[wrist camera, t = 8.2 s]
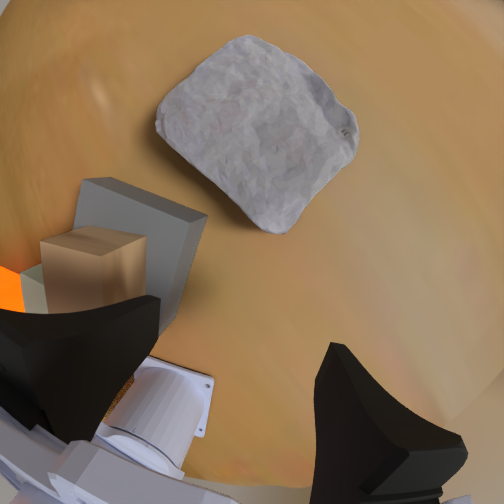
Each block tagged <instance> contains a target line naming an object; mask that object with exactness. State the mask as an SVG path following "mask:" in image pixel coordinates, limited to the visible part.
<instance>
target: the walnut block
mask: <svg viewBox="0 0 504 504" xmlns="http://www.w3.org/2000/svg"><path fill="white" fill-rule="evenodd" d="M146 244H147V236H146V235H140V234H135V233H129V232H124V231H118V230H112V229H107V228H101V227H96V226H90V225H88V226H85V227H82V228H78V229H75V230H72V231H69V232H66V233H63V234H59V235H56V236H53V237H50V238H47V239H44V240H41V241H40V250H41V262H42V272H43V281H44V289H45V296H46V302H47V308H48V314H55V313H71V312H79V311H85V310H91V309H95V308H99V307H103V306H107V305H111V304H115V303H118V302H122V301H125V300H129V299H132V298H136V297H139V296H143V295H146Z"/></svg>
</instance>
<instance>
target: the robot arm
mask: <svg viewBox="0 0 504 504" xmlns="http://www.w3.org/2000/svg"><path fill="white" fill-rule="evenodd" d="M160 306H161V298H158V297H155V296H152V295H143V296H139V297H136V298H132V299H129V300H125V301H122V302H118V303H115V304H111V305H107V306H103V307H99V308H95V309H91V310H85V311H79V312H71V313H55V314H38V313H25V312H18V311H12V310H6V309H1V308H0V474H1V475H2V476H3V477H4V478H5V479H6V480H7V481H8V482H9V483H10V484H11V485H12V486H13V487H15V488H16V489H17V490H18V491H19V492H18V494H17V495H16V496H15V497H14V499H13V500H12V501H11V503H10V504H241V503H239V502H238V501H236V500H235V499H233V498H232V497H230V496H228V495H225V494H222V493H219V492H216V491H213V490H210V489H208V488H205V487H201V486H198V485H195V484H191V483H188V482H185V481H182V478H183V476H184V472H183V471H181V470H180V468H181V466H182V464H183V461H184V459H185V456H186V454H187V452H188V449H189V447H190V444H191V442H192V440H193V437H194V436H198V437H204V435H205V430H206V424H207V419H208V413H209V408H210V402H211V397H212V392H213V386H214V379H213V378H212V377H210V376H207V375H204V374H201V373H197V372H194V371H191V370H188V369H185V368H182V367H179V366H176V365H173V364H170V363H167V362H164V361H161V360H159V359H156V358H153V357H150V356H148V355H149V353H150V352H151V350H152V348H153V347H154V345H155V343H156V341H157V340H158V337H159V320H160ZM133 373H134V383H133V384H132V385H131V387H130V388H129V389H128V391H127V392H126V393H125V395H124V396H123V397H122V398H121V400H120V401H119V402H118V404H117V405H116V406H115V408H114V409H113V410H112V412H111V413H110V414H109V416H108V417H107V418H106V420H105V421H104V422H101V421H102V419H103V417H104V416H105V414H106V412H107V410H108V408H109V407H110V405H111V403H112V402H113V400H114V399H115V397H116V395H117V394H118V392H119V391H120V390H121V388H122V387H123V386H124V384H125V383H126V382H127V381H128V380H129V378H130V377H131V376H132V375H133ZM206 384H208V385H210V386H208V385H206ZM314 413H315V428H316V459H315V469H314V477H313V485H312V491H311V497H310V503H309V504H440V503H439V499H438V497H441V496H442V494H443V491H442V487H441V486H442V485H443V484H445V483H446V482H447V481H448V480H449V479H450V478H451V477H452V476H453V475H454V474H456V472H458V471H459V469H460V468H461V467H462V466H463V465H464V463H465V461H466V459H467V456H468V452H467V449H466V447H465V445H464V442H463V440H462V438H461V436H460V435H458V434H455V433H453V432H450V431H448V430H445V429H443V428H441V427H438V426H436V425H434V424H432V423H431V422H429V421H427V420H425V419H423V418H422V417H420V416H418V415H417V414H415V413H414V412H412V411H411V410H409V409H408V408H406V407H405V406H404V405H402V404H401V403H400V402H398V401H397V400H396V399H395V398H394V397H392V396H391V395H390V394H389V393H388V392H387V391H386V390H385V389H384V388H383V387H382V386H381V385H380V384H379V383H378V382H377V381H376V380H375V379H374V378H373V377H372V376H371V375H370V374H369V373H368V371H367V370H366V369H365V368H364V367H363V366H362V364H361V363H360V362H359V361H358V360H357V358H356V357H355V356H354V355H353V353H352V352H351V351H350V350H349V349H348V348H347V347H346V346H345V345H344V344H339V343H334V342H330V345H329V347H328V350H327V352H326V355H325V357H324V360H323V362H322V364H321V367H320V369H319V371H318V374H317V376H316V378H315V387H314ZM441 504H473V502H472V499H471V496H470V495H465V496H462V497H458V498H454V499H450V500H447V501H445V502H443V503H441Z"/></svg>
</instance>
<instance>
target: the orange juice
mask: <svg viewBox="0 0 504 504" xmlns="http://www.w3.org/2000/svg"><path fill="white" fill-rule="evenodd" d="M0 308H1V309H6V310H12V311H18V312H25V309H24V303H23V296H22V288H21V280H20V275H18V274H16V273H14V272H12V271H10V270H8V269H6V268H4V267H1V266H0Z"/></svg>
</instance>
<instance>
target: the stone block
mask: <svg viewBox="0 0 504 504" xmlns="http://www.w3.org/2000/svg"><path fill="white" fill-rule="evenodd" d="M156 118H157V119H156V122H155V127H156V132H157V133H158V134H159V135H160V136H161V137H162V138H163V139H164V140H165V141H166V142H167V143H168V144H169V145H170V146H171V147H172V148H173V149H174V150H175V151H177V152H178V153H179V154H180V155H181V156H182V157H184V158H185V159H186V160H187V161H188V162H189V163H190V164H191V165H192V166H194V167H195V168H196V169H197V170H198V171H200V172H201V173H202V174H203V175H205V176H206V177H207V178H208V179H210V180H211V181H212V182H213V183H215V184H216V185H217V186H218V187H219V188H220V189H221V190H222V191H224V192H225V193H226V194H227V195H228V196H229V197H230V198H231V199H232V200H233V201H234V202H235V203H236V204H237V205H238V206H239V207H240V208H241V209H242V211H243V212H244V213H245V214H246V215H247V217H248V218H249V219H250V220H251V221H253V222H254V223H255V224H256V225H257V226H258V227H259V228H260V229H262V230H263V231H265V232H267V233H271V234H285V233H287V232H288V231H289V229H290V228H291V227H292V226H293V225H294V224H295V223H296V222H297V220H298V219H299V218H300V215H301V213H302V211H303V209H304V208H305V207H306V206H307V205H308V204H309V202H310V201H311V199H312V198H313V197H314V196H315V195H316V194H317V193H318V192H319V191H320V190H321V189H322V188H323V187H324V186H325V185H326V184H327V183H328V182H329V181H330V180H331V179H332V178H333V177H334V176H335V175H336V174H337V173H338V172H339V171H340V170H341V169H343V168H345V167H346V166H347V165H349V164H350V163H351V162H352V160H353V159H354V157H355V154H356V152H357V149H358V144H359V128H358V125H357V121H356V117H355V115H354V114H353V113H352V111H351V110H349V109H348V108H346V107H345V106H343V105H342V104H340V102H339V101H338V100H337V99H336V97H335V94H334V92H333V91H332V89H331V88H330V87H329V86H328V85H327V84H326V82H325V81H324V80H323V79H322V78H321V77H320V76H319V75H318V74H317V73H315V72H314V71H312V70H311V69H310V68H309V67H308V66H307V65H306V64H305V63H304V62H303V61H302V60H300V59H298V58H297V57H295V56H293V55H291V54H289V53H287V52H283V51H281V49H279V48H278V47H277V46H274V45H272V44H269V43H267V42H266V41H264V40H261V39H260V38H258V37H255V36H252V35H245V36H242V37H238V38H235V39H233V40H231V41H229V42H227V43H226V44H225V45H224V46H223V47H222V48H221V49H219V50H218V51H216V52H215V53H214V54H212V55H211V56H210V57H208V58H207V59H206V60H204V61H203V62H202V63H201V64H200V65H199V66H197V67H196V69H195V70H194V71H193V72H192V73H191V75H190V76H189V77H188V78H186V79H185V80H184V81H182V82H181V83H179V84H178V85H177V86H176V87H175V88H173V89H172V90H171V91H170V92H169V93H168V94H167V95H166V96H165V97H164V99H163V100H162V102H161V103H160V105H159V106H158V107H157V113H156Z"/></svg>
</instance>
